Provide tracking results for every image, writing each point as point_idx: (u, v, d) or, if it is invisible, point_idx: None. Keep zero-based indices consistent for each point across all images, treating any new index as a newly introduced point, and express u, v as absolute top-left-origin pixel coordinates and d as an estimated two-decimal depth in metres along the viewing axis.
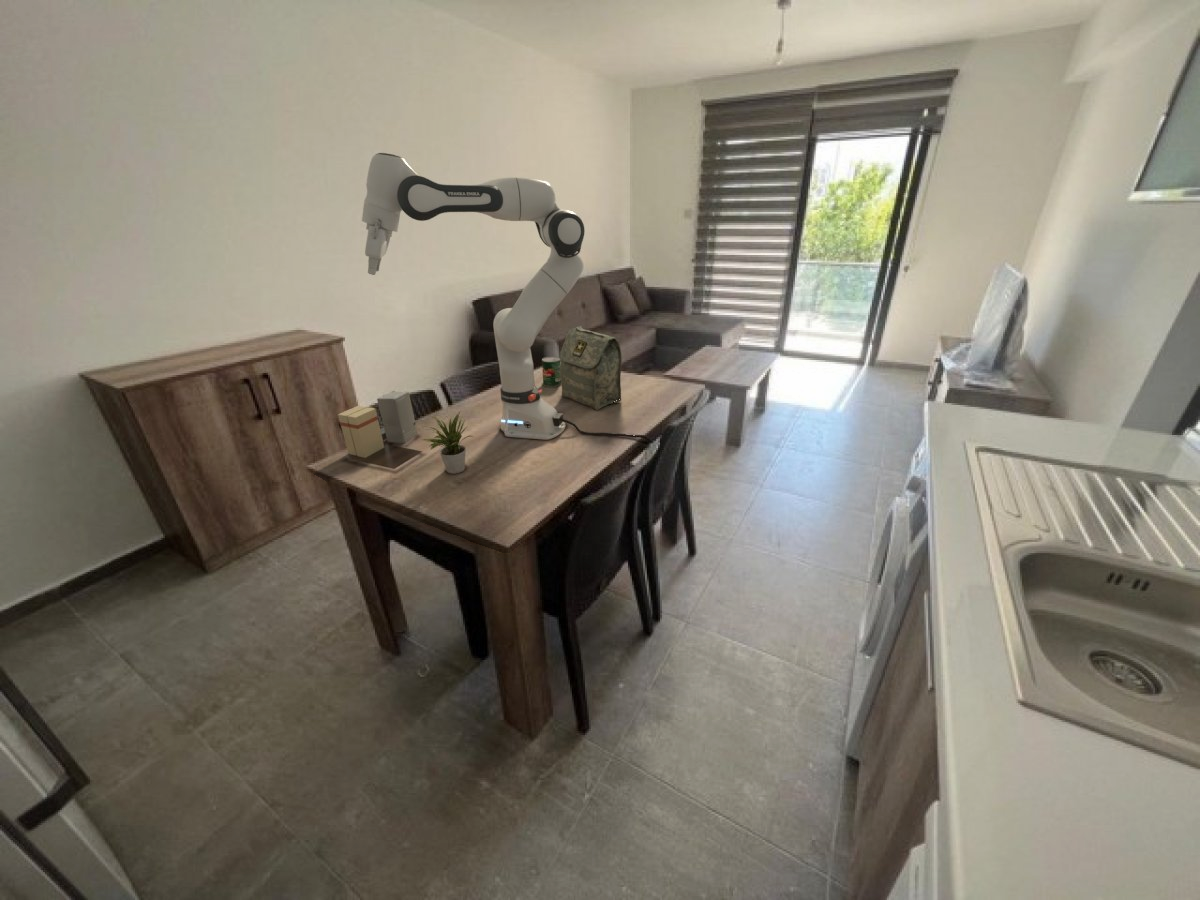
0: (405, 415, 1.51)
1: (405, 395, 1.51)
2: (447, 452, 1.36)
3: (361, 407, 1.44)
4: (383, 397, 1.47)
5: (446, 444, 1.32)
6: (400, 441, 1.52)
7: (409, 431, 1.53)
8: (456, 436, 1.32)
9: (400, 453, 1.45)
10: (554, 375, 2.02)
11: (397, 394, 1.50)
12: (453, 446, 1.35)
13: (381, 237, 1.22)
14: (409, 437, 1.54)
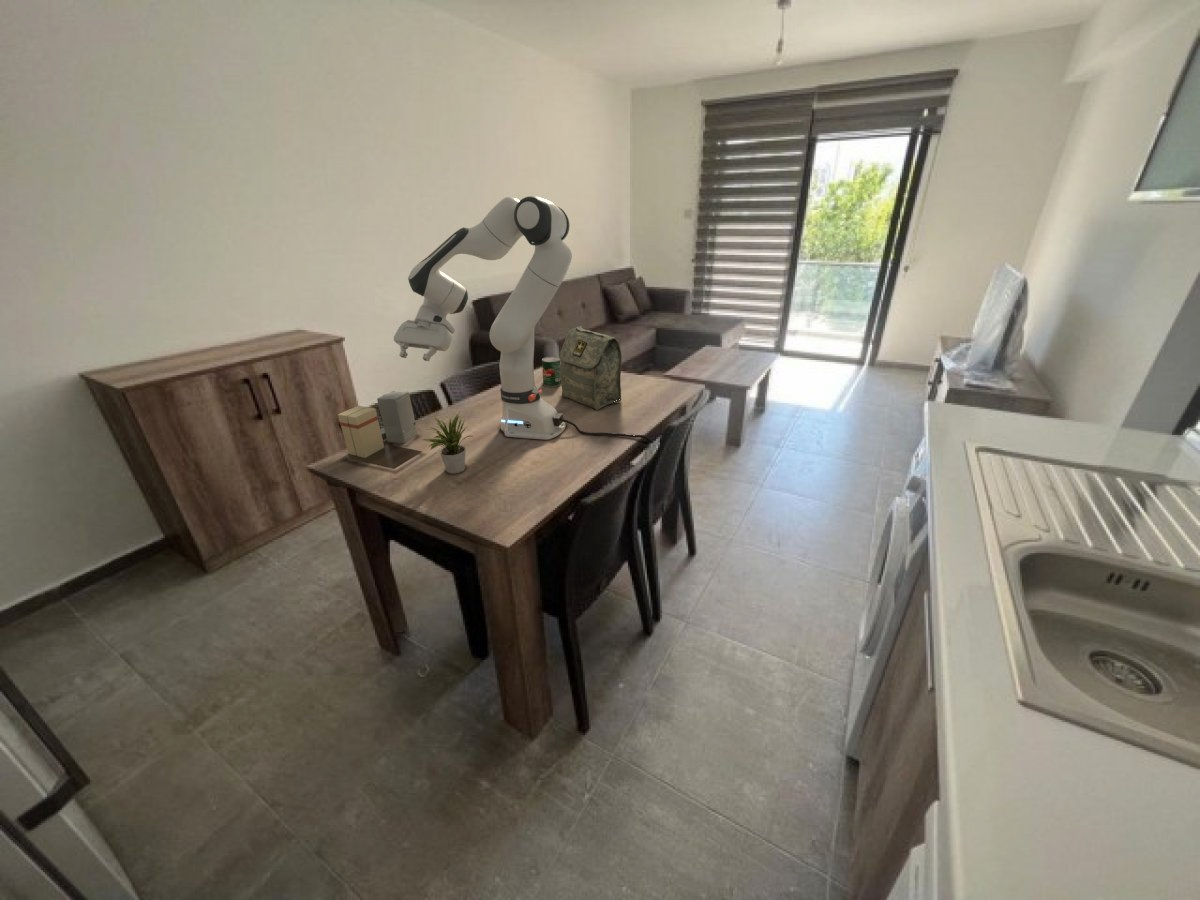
0: (405, 415, 1.51)
1: (405, 395, 1.51)
2: (447, 452, 1.36)
3: (361, 407, 1.44)
4: (383, 397, 1.47)
5: (446, 444, 1.32)
6: (400, 441, 1.52)
7: (409, 431, 1.53)
8: (456, 436, 1.32)
9: (400, 453, 1.45)
10: (554, 375, 2.02)
11: (397, 394, 1.50)
12: (453, 446, 1.35)
13: None
14: (409, 437, 1.54)
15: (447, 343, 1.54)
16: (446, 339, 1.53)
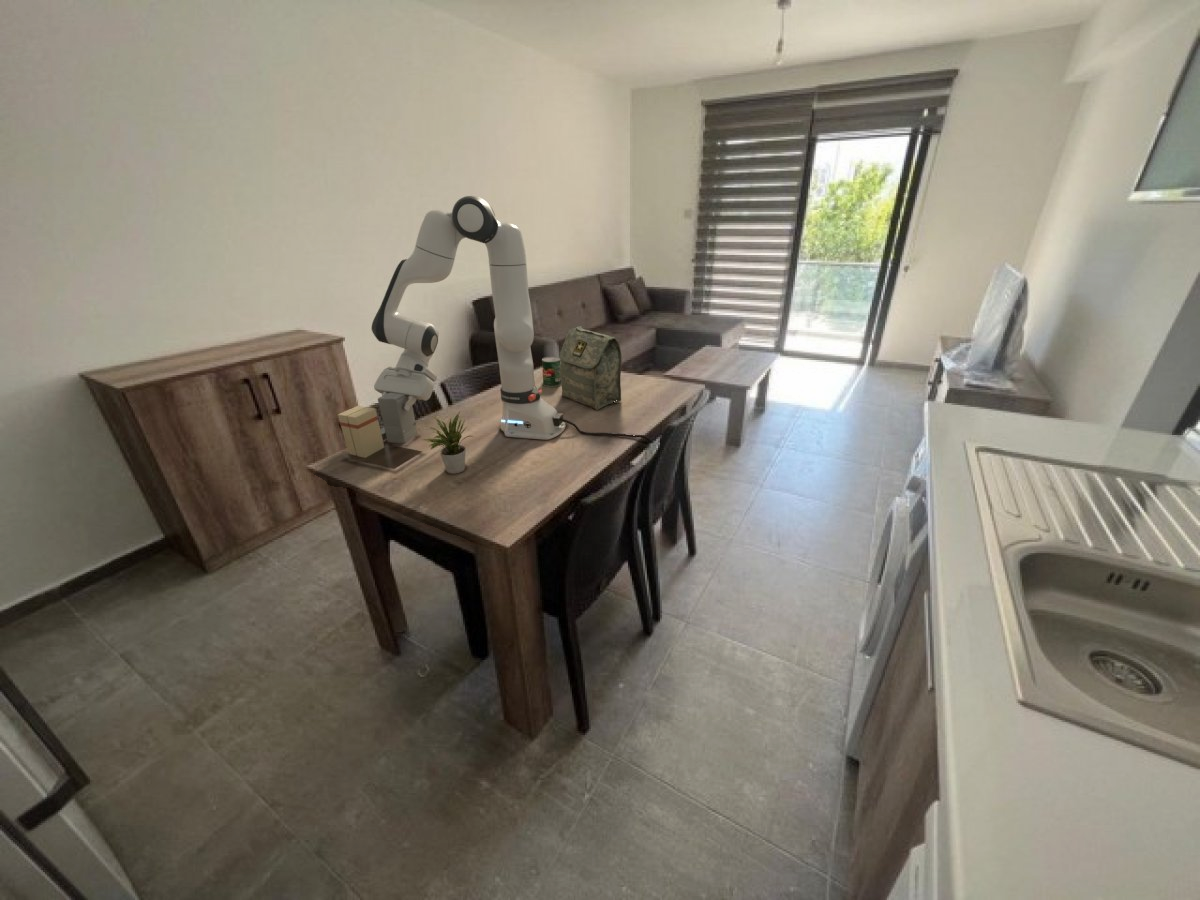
0: (406, 415, 1.51)
1: (406, 395, 1.51)
2: (447, 452, 1.36)
3: (361, 407, 1.44)
4: (384, 397, 1.47)
5: (446, 444, 1.32)
6: (400, 441, 1.52)
7: (409, 431, 1.53)
8: (456, 436, 1.32)
9: (400, 453, 1.45)
10: (554, 375, 2.02)
11: (398, 394, 1.50)
12: (453, 446, 1.35)
13: None
14: (409, 437, 1.54)
15: (428, 392, 1.50)
16: (427, 389, 1.49)
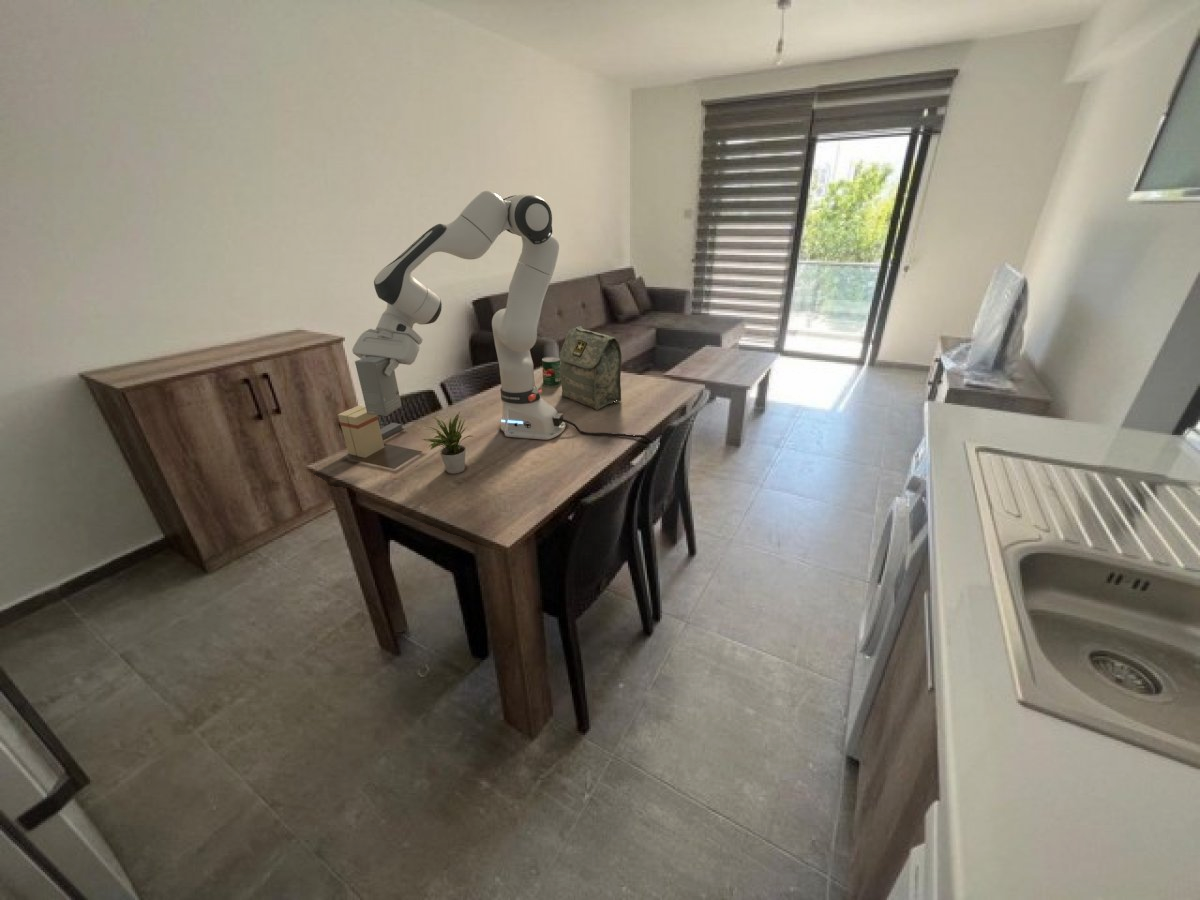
0: (387, 381, 1.36)
1: (387, 359, 1.35)
2: (447, 452, 1.36)
3: (361, 407, 1.44)
4: (362, 360, 1.32)
5: (446, 444, 1.32)
6: (380, 410, 1.36)
7: (390, 399, 1.38)
8: (456, 436, 1.32)
9: (400, 453, 1.45)
10: (554, 375, 2.02)
11: (378, 357, 1.34)
12: (453, 446, 1.35)
13: None
14: (391, 407, 1.38)
15: (412, 356, 1.34)
16: (411, 351, 1.33)
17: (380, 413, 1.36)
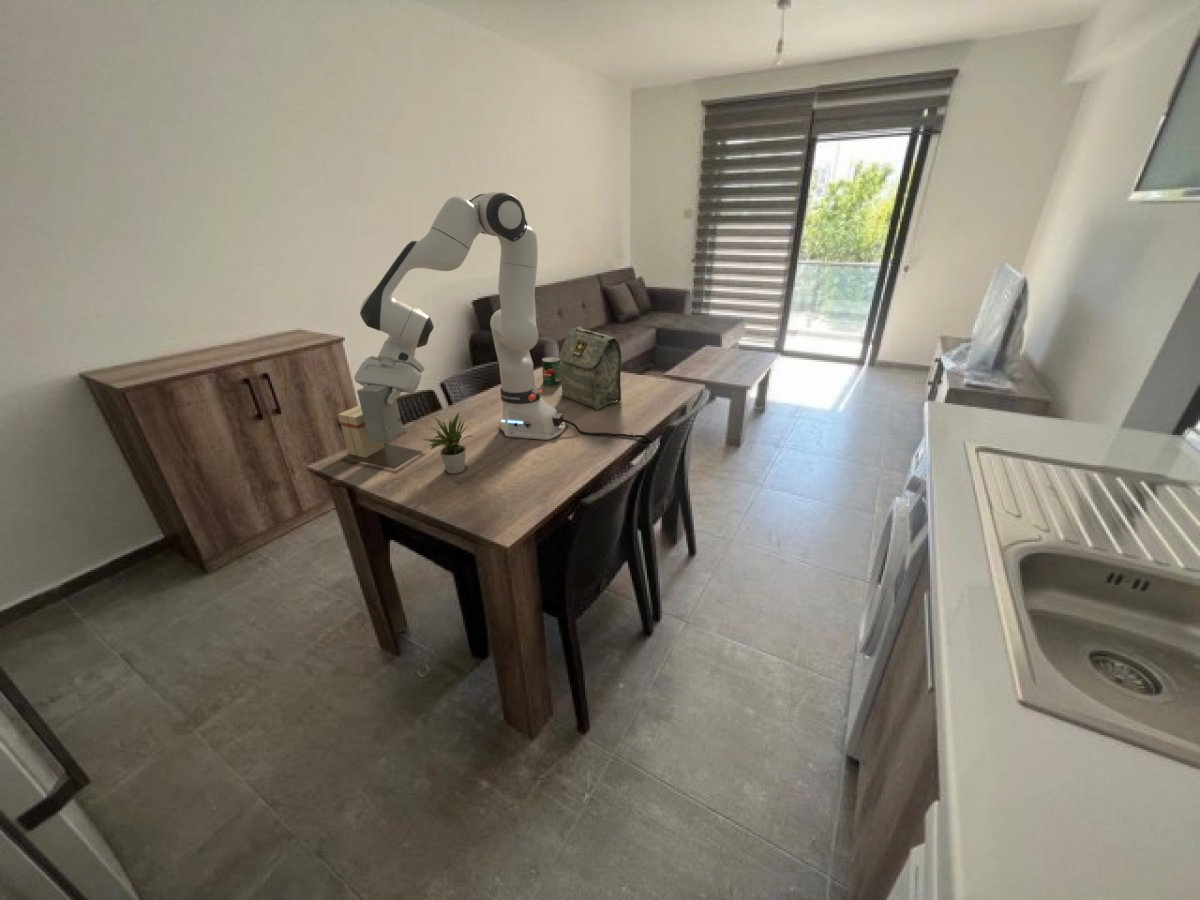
0: (389, 410, 1.36)
1: (389, 388, 1.35)
2: (447, 452, 1.36)
3: None
4: (364, 389, 1.32)
5: (446, 444, 1.32)
6: (382, 438, 1.36)
7: (392, 427, 1.38)
8: (456, 436, 1.32)
9: (400, 453, 1.45)
10: (554, 375, 2.02)
11: (380, 386, 1.35)
12: (453, 446, 1.35)
13: None
14: (393, 434, 1.38)
15: (414, 384, 1.34)
16: (413, 380, 1.34)
17: (382, 441, 1.37)
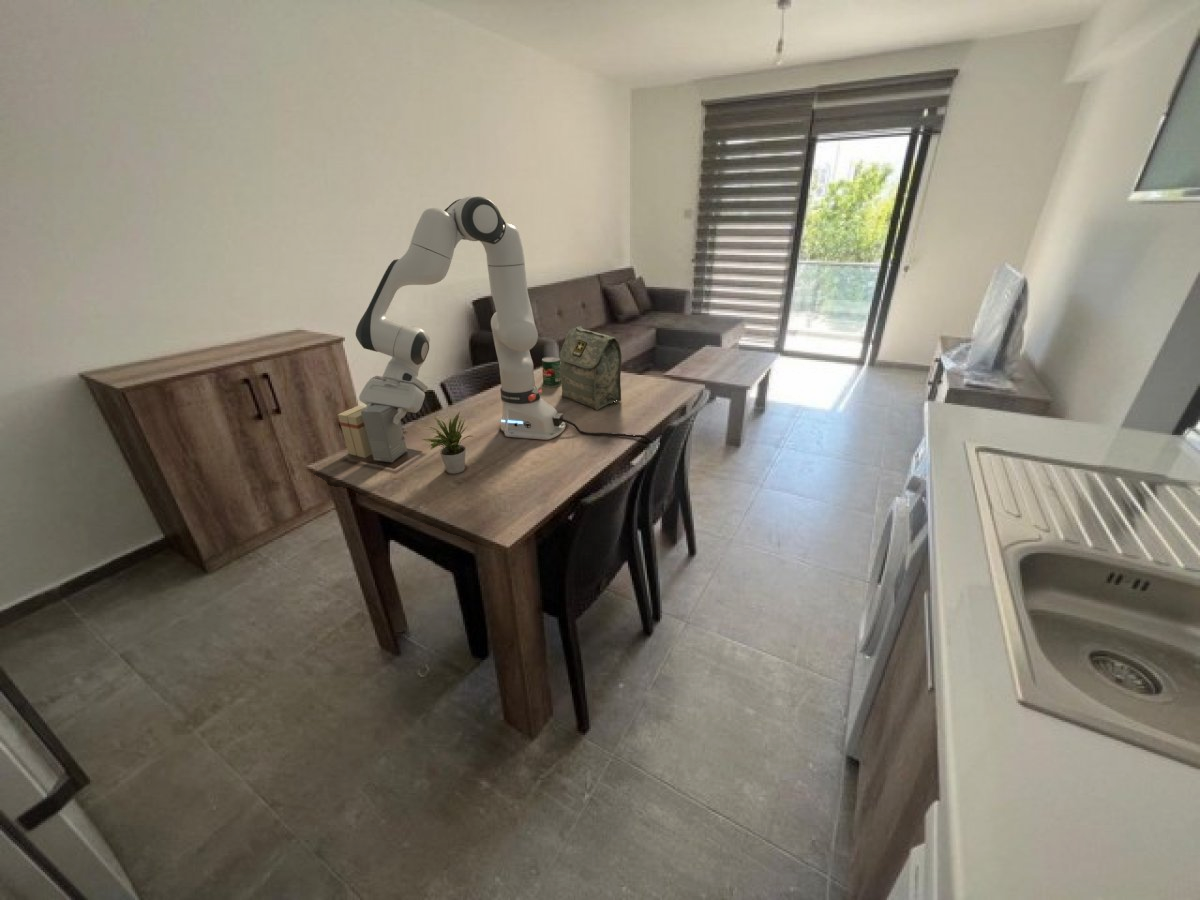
0: (392, 429, 1.39)
1: (392, 407, 1.38)
2: (447, 452, 1.36)
3: (361, 407, 1.44)
4: (368, 410, 1.35)
5: (446, 444, 1.32)
6: (386, 457, 1.39)
7: (396, 446, 1.41)
8: (456, 436, 1.32)
9: None
10: (554, 375, 2.02)
11: (383, 406, 1.38)
12: (453, 446, 1.35)
13: None
14: (397, 453, 1.41)
15: (418, 404, 1.37)
16: (417, 400, 1.36)
17: (386, 460, 1.39)
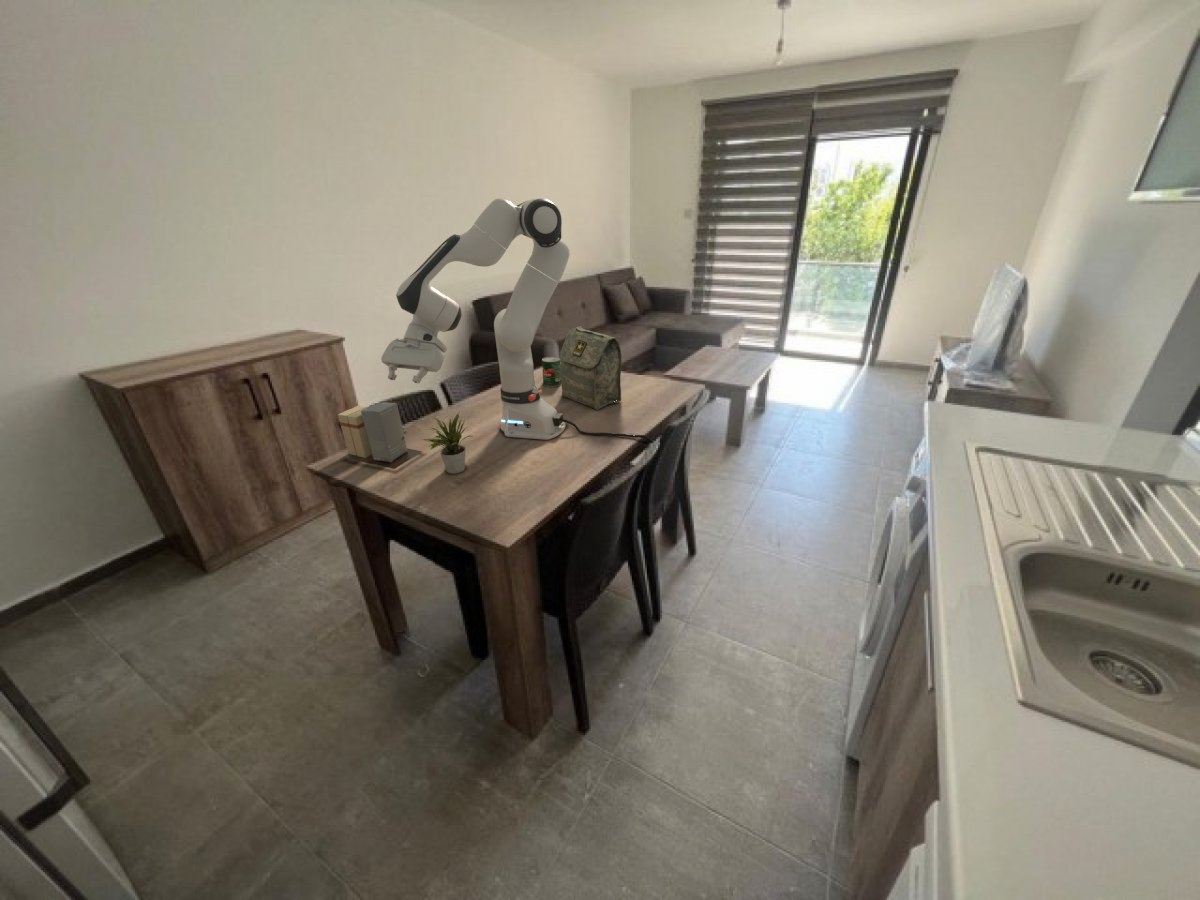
0: (392, 429, 1.39)
1: (392, 407, 1.38)
2: (447, 452, 1.36)
3: (361, 407, 1.44)
4: (368, 409, 1.35)
5: (446, 444, 1.32)
6: (385, 457, 1.39)
7: (395, 446, 1.41)
8: (456, 436, 1.32)
9: None
10: (554, 375, 2.02)
11: (384, 405, 1.38)
12: (453, 446, 1.35)
13: None
14: (396, 453, 1.41)
15: (438, 363, 1.42)
16: (437, 359, 1.41)
17: (385, 459, 1.39)
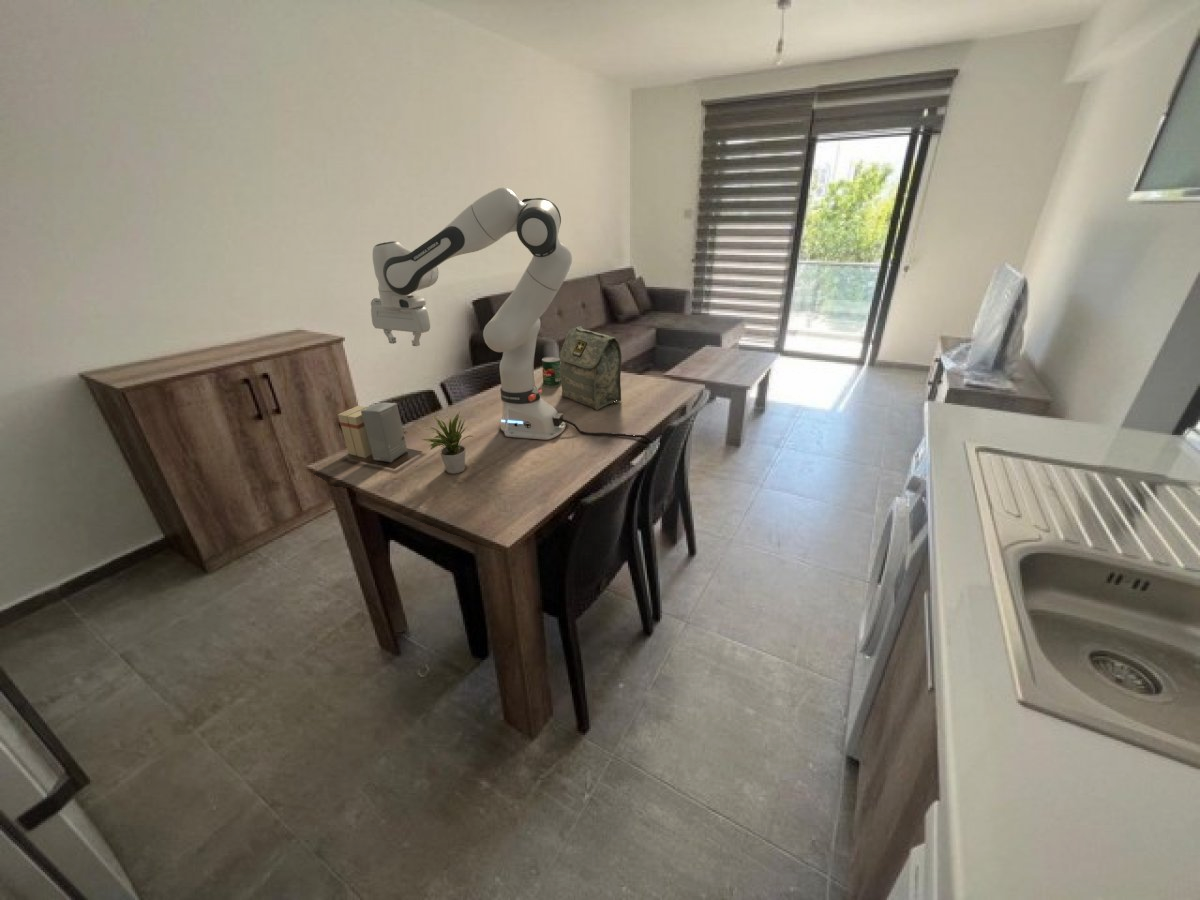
0: (392, 429, 1.39)
1: (392, 407, 1.38)
2: (447, 452, 1.36)
3: (361, 407, 1.44)
4: (368, 409, 1.35)
5: (446, 444, 1.32)
6: (385, 457, 1.39)
7: (395, 446, 1.41)
8: (456, 436, 1.32)
9: None
10: (554, 375, 2.02)
11: (384, 405, 1.38)
12: (453, 446, 1.35)
13: None
14: (396, 453, 1.41)
15: (427, 324, 1.46)
16: (424, 322, 1.45)
17: (385, 459, 1.39)
